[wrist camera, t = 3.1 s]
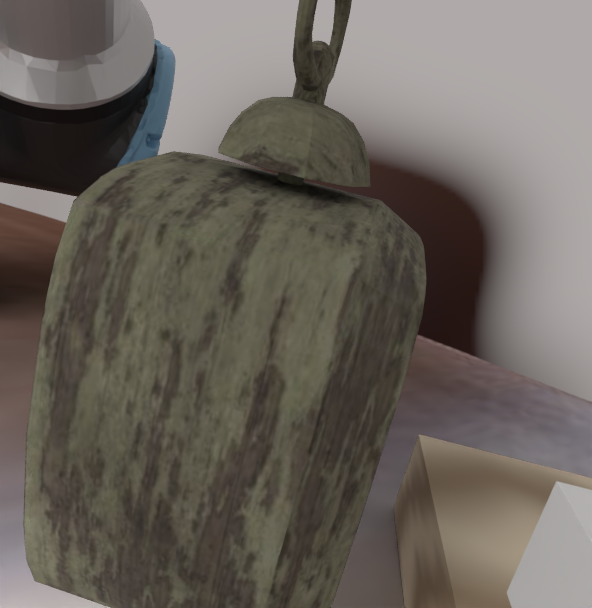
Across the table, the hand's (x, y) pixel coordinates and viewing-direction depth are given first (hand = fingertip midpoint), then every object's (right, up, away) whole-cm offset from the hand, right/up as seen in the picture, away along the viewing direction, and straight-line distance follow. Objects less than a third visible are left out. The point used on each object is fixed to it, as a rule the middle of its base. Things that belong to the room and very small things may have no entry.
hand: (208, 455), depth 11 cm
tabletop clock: (-2, -10, +14) cm, 17 cm away
